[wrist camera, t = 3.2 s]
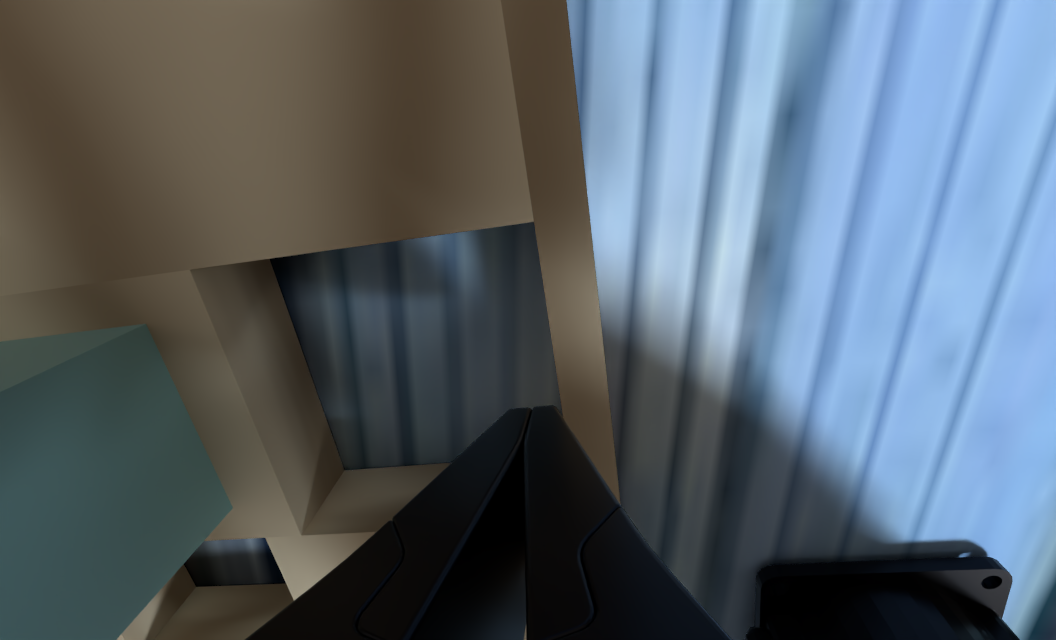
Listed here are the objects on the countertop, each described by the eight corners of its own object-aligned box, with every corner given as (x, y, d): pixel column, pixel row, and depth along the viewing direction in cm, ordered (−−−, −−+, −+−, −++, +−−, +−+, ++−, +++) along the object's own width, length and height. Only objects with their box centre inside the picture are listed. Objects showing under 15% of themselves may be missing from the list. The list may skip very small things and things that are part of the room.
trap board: (553, -107, 9) (519, -476, 3) (629, 593, 15) (660, 857, 10) (-445, 125, 13) (-1246, 127, 7) (-44, 614, 19) (-299, 817, 13)
